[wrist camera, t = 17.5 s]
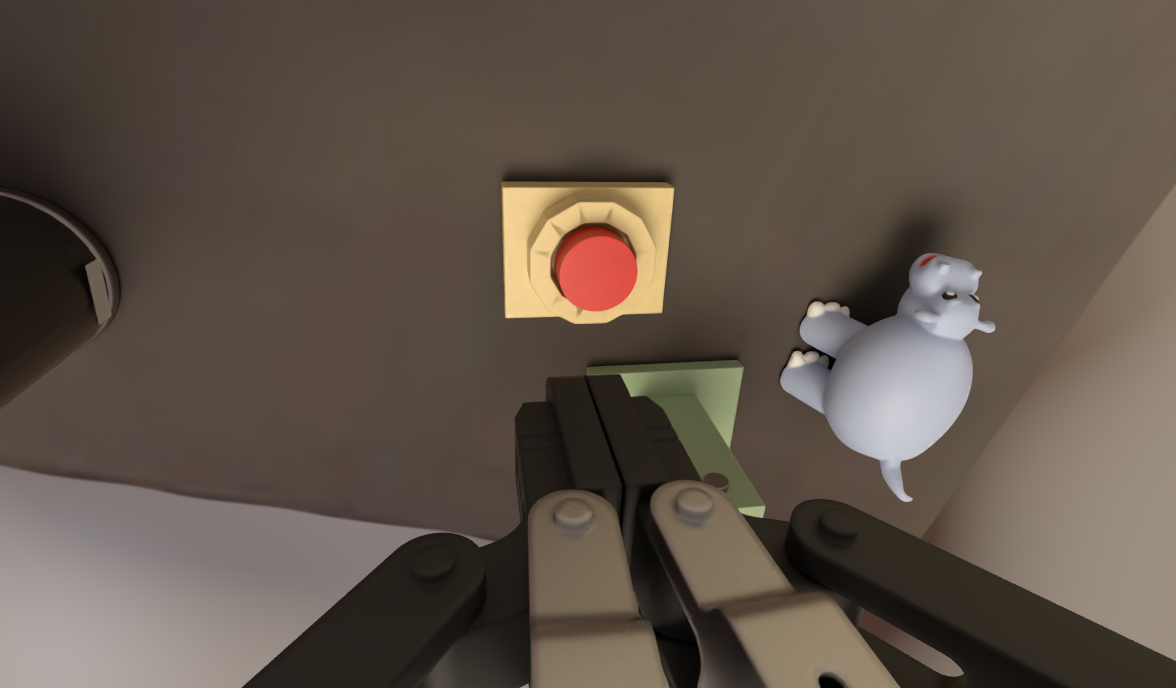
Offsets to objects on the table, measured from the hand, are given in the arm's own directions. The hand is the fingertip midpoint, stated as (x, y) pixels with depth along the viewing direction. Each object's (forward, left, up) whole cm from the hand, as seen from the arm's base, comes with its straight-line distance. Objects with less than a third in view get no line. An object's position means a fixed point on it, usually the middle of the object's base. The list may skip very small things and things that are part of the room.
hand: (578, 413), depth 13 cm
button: (+4, -4, -22) cm, 23 cm away
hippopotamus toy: (+25, -11, -26) cm, 38 cm away
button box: (+4, -4, -26) cm, 26 cm away
